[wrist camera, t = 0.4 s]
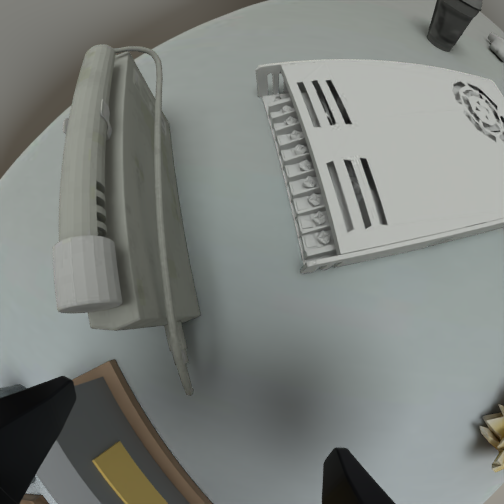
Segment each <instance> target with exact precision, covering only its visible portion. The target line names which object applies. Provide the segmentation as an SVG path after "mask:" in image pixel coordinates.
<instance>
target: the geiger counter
mask: <svg viewBox="0 0 504 504" xmlns="http://www.w3.org/2000/svg"><path fill="white" fill-rule="evenodd" d="M125 51H128V52H125ZM129 51H139V52H143V53H147V54H149V55H151V56H152V58H153V59H154V61H155V63H156V75H157V81H156V98H154V96H153V94H152V92H151V90H150V89H149V87H148V85H147V83H146V81H145V80H144V78H143V76H142V74H141V72H140V71H139V69H138V67H137V65H136V63H135V62H134V60H133V58H132V56H131V54H130V53H129ZM119 52H125V53H122V54H119V55H116V56H115V53H119ZM161 105H162V65H161V60H160V58H159V56H158V55H157V54H156V53H155V52H154V51H153V50H151V49H148V48H144V47H138V46H137V47H136V46H135V47H134V46H129V47H123V48H117V49H113V48H112V47H110V46H108V45H103V44H102V45H96V46H94V47H92V48H90V49H89V50H88V51H87V53H86V55H85V58H84V61H83V64H82V68H81V71H80V74H79V78H78V82H77V85H76V89H75V93H74V97H73V102H72V106H71V111H70V116H69V119H68V118H66V119H65V120H64V123H63V132H64V133H65V134H66V139H65V146H64V153H63V161H62V171H61V183H60V199H59V242H57V243H56V244H55V245H54V246H53V269H54V283H55V293H56V302H57V310H58V311H59V312H61V313H85V312H88V316H89V322H90V327H91V328H92V329H103V330H115V331H117V330H127V329H136V328H145V327H154V326H162V325H164V327H165V331H166V336H167V340H168V344H169V348H170V351H171V352H172V353H173V357H174V361H175V365H177V369H178V372H179V376H180V379H181V382H182V384H183V387H184V389H185V392H186V394H187V395H188V396H191V395H192V394H193V391H194V389H193V388H192V385H191V381H190V378H189V374H188V370H187V367H186V364H187V363H189V360H188V356H187V352H186V349H187V345H186V341H185V336H184V332H183V328H182V323H184V322H186V321H189V320H191V319H193V318H196V317H198V316H200V310H199V305H198V301H197V296H196V291H195V286H194V282H193V277H192V272H191V266H190V261H189V256H188V251H187V245H186V240H185V234H184V228H183V222H182V216H181V210H180V203H179V197H178V190H177V183H176V176H175V169H174V161H173V153H172V145H171V136H170V127H169V123H168V121H167V119H166V117H165V115H164V114H163V112H162V110H161Z"/></svg>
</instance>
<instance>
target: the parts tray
mask: <svg viewBox="0 0 504 504" xmlns="http://www.w3.org/2000/svg"><path fill="white" fill-rule="evenodd" d="M20 504H49V503H48V502H47V501H46V499H45V498H44V497H43V495H33V494H24V496H23V498H22V500H21V502H20Z"/></svg>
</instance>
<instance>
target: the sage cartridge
mask: <svg viewBox="0 0 504 504" xmlns="http://www.w3.org/2000/svg"><path fill="white" fill-rule="evenodd" d="M24 389H26V388H25V387H24V386H22V385H14V386H9V387H3V388H0V398H1V397H4V396H7V395H10V394H13V393H16V392H19V391H22V390H24Z"/></svg>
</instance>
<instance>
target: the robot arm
mask: <svg viewBox="0 0 504 504" xmlns="http://www.w3.org/2000/svg"><path fill="white" fill-rule="evenodd" d="M76 397H77V396H76V391H75V386H74V382H73V381H72V380H71V379H69V378H67V377H65V376H60V377H58V378H55V379H52V380H50V381H47V382H44V383H41V384H39V385H36V386H33V387H30V388H27V389H24V390H22V391H19V392H16V393H13V394H10V395H7V396H4V397H1V398H0V504H20V502H21V500H22V498H23V496H24V494H25V493H26V491H27V489H28V487H29V485H30V484H31V482H32V480H33V478H34V476H35V475H36V473H37V471H38V470H39V468H40V466H41V464H42V463H43V461H44V459H45V458H46V456H47V454H48V453H49V451H50V449H51V448H52V446H53V444H54V443H55V441H56V440H57V438H58V436H59V435H60V433H61V431H62V429H63V427H64V425H65V423H66V421H67V418H68V416H69V414H70V412H71V410H72V408H73V406H74V404H75V402H76ZM322 504H395V503H394V502H393V500H392V499H391V498H390V497H389V496H388V495H387V494H386V493H385V492H384V491H383V489H382V488H381V487H380V486H379V485H378V484H377V483H376V482H375V480H374V479H373V478H372V477H371V476H370V475H369V474H368V472H367V471H366V470H365V469H364V468H363V467H362V466H361V464H360V463H359V462H358V461H357V460H356V458H355V457H354V456H353V455H352V454H351V453H350V451H349V450H348V449H347V448H334V449H333V450H332V452H331V453H330V454H329V456H328V457H327V458H326V460H325V462H324V468H323V488H322Z"/></svg>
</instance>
